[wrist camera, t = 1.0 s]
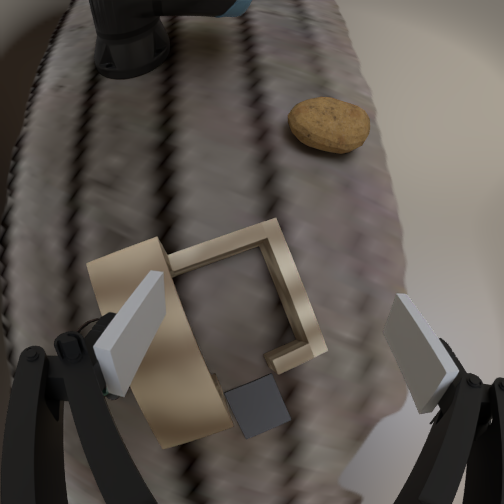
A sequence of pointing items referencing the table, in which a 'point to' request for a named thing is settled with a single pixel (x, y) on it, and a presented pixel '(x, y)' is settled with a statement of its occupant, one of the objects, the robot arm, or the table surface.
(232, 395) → the mat
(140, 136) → the table surface
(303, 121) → the potato
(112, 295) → the tunnel
